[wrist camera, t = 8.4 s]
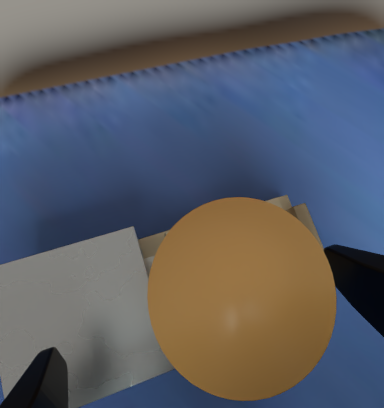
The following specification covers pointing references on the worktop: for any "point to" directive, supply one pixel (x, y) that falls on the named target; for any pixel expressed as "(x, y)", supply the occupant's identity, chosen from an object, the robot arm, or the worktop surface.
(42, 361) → the robot arm
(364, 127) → the worktop surface
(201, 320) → the orange upright rod
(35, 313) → the socket
